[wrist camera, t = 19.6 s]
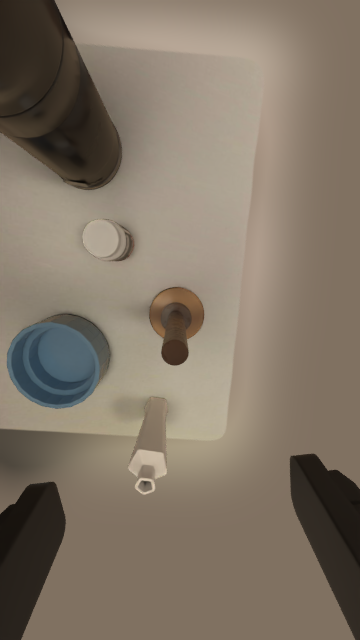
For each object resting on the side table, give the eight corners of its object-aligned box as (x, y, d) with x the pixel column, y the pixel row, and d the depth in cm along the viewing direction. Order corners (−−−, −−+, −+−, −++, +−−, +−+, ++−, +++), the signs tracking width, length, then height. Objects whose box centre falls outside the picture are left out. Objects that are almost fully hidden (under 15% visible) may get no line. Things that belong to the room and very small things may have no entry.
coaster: (146, 290, 37) (145, 291, 36) (200, 284, 37) (201, 284, 36) (154, 342, 39) (153, 344, 38) (206, 336, 39) (206, 337, 38)
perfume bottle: (163, 424, 42) (155, 510, 27) (139, 413, 42) (118, 494, 27) (176, 402, 41) (175, 478, 27) (152, 390, 41) (137, 462, 26)
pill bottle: (93, 240, 36) (68, 233, 27) (119, 218, 35) (102, 205, 27) (115, 268, 36) (97, 269, 28) (141, 247, 36) (130, 243, 28)
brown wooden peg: (159, 304, 37) (146, 332, 22) (189, 300, 37) (197, 326, 22) (163, 333, 38) (153, 378, 23) (192, 329, 38) (202, 373, 23)
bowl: (21, 319, 38) (-5, 328, 33) (102, 309, 38) (89, 317, 32) (41, 393, 41) (20, 413, 35) (116, 384, 40) (107, 403, 35)
